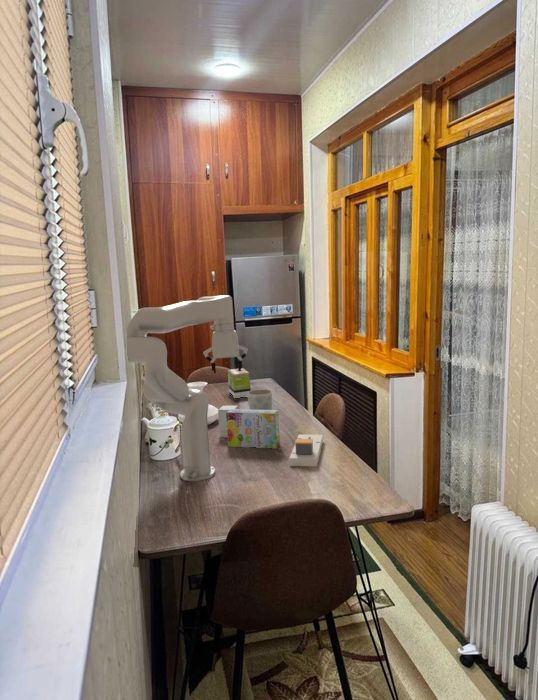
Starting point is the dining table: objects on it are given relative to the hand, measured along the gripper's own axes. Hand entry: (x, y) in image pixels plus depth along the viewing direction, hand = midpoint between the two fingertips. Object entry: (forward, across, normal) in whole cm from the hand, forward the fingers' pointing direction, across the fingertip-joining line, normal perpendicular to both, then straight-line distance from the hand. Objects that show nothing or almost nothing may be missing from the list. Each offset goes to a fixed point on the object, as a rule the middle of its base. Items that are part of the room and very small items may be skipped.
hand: (227, 371), depth 192 cm
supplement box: (+34, 0, +23) cm, 41 cm away
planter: (+34, +18, +53) cm, 65 cm away
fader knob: (+30, +26, -16) cm, 43 cm away
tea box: (+34, +11, +92) cm, 99 cm away
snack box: (+34, +9, +6) cm, 35 cm away
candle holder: (+34, -13, +46) cm, 58 cm away
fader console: (+33, +29, -8) cm, 45 cm away
